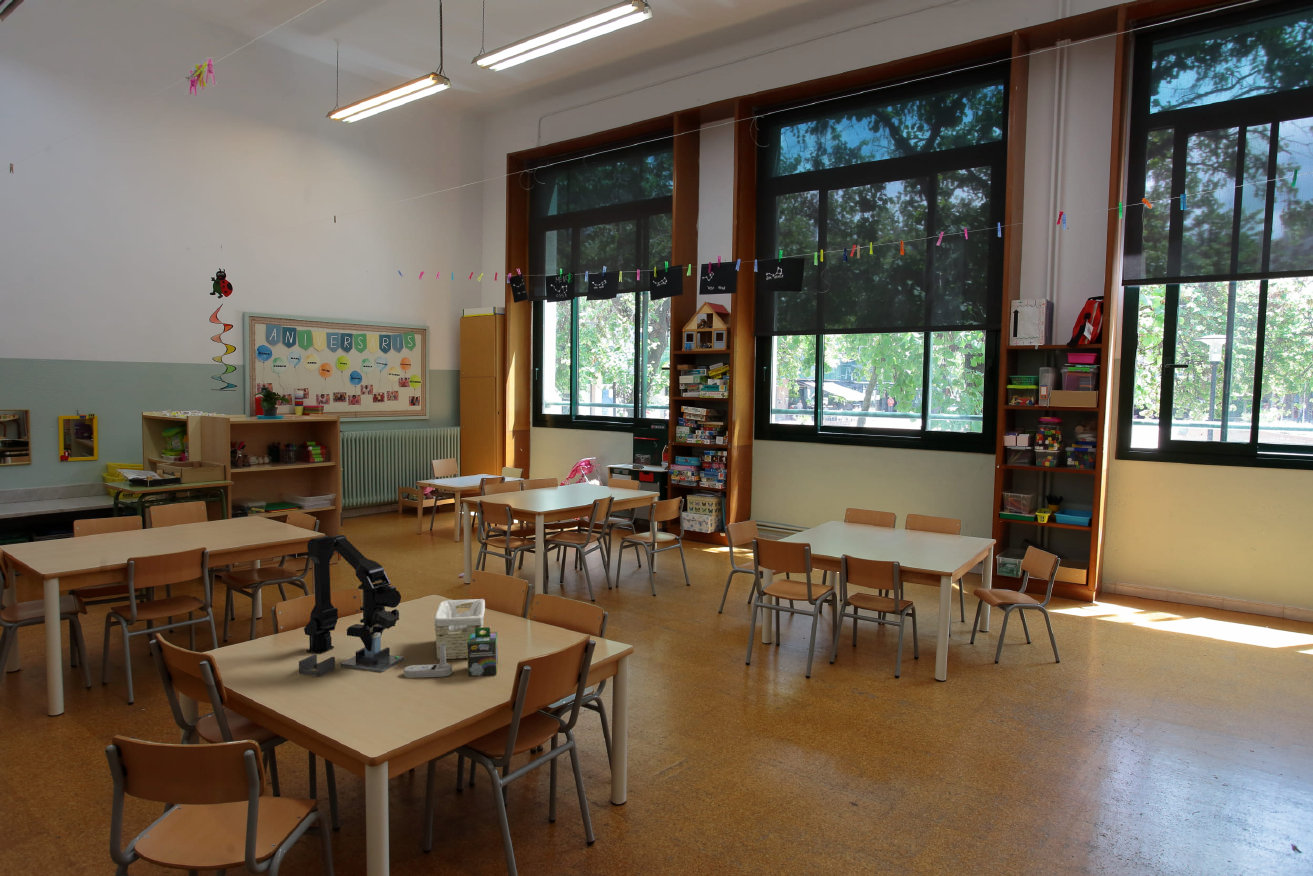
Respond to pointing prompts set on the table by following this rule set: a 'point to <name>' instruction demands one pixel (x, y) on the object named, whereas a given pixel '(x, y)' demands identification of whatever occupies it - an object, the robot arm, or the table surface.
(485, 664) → the chalk box
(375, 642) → the plug
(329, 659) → the holster
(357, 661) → the port
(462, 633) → the storage basket
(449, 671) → the electronic device
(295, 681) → the table surface
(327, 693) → the table surface
